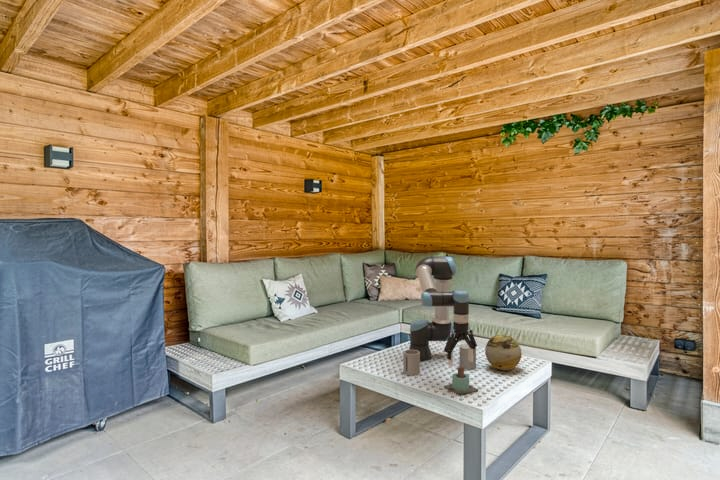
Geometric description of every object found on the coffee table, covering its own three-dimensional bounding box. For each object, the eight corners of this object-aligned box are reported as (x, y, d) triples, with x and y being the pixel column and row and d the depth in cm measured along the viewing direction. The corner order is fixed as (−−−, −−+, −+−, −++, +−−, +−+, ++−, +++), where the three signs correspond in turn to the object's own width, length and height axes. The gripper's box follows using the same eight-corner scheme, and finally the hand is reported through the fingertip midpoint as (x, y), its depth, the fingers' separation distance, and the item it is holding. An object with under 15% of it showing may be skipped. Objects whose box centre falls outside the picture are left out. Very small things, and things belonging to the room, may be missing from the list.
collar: (449, 386, 212) (449, 374, 212) (461, 383, 216) (461, 372, 216) (460, 392, 205) (460, 380, 204) (472, 388, 209) (472, 377, 209)
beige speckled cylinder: (476, 370, 238) (476, 349, 238) (459, 369, 240) (459, 348, 240) (475, 365, 247) (475, 344, 247) (459, 364, 249) (459, 343, 249)
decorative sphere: (482, 363, 251) (482, 330, 250) (516, 364, 249) (516, 331, 248) (489, 374, 231) (489, 339, 230) (525, 376, 229) (526, 340, 228)
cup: (421, 371, 238) (421, 350, 237) (418, 376, 229) (418, 355, 229) (405, 369, 240) (405, 349, 240) (402, 374, 232) (401, 353, 232)
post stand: (443, 387, 213) (443, 366, 212) (461, 383, 219) (461, 362, 218) (460, 396, 202) (460, 373, 202) (478, 391, 208) (478, 369, 208)
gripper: (447, 326, 200) (446, 370, 201) (484, 320, 212) (484, 361, 213) (436, 323, 206) (436, 365, 207) (473, 317, 219) (473, 356, 220)
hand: (460, 363), depth 210 cm, fingers open, 13 cm apart
